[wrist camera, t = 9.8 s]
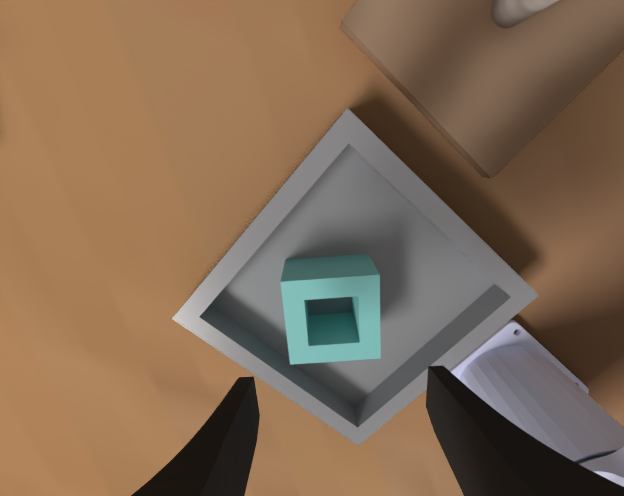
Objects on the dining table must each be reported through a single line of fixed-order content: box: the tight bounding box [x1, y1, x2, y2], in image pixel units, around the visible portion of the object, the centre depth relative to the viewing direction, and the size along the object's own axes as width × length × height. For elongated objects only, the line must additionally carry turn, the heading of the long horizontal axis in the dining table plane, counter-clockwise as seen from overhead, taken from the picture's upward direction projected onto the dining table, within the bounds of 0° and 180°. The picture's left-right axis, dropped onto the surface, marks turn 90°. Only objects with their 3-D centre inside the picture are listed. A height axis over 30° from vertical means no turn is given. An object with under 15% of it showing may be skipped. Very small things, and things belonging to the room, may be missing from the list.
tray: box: [172, 108, 539, 446], centre depth 21 cm, size 16×16×2 cm
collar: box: [280, 254, 381, 365], centre depth 20 cm, size 5×5×4 cm
